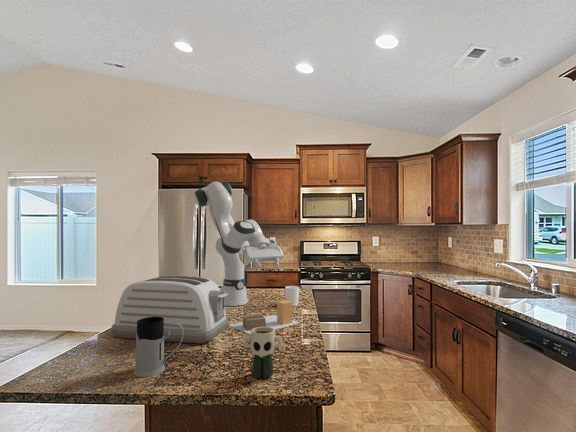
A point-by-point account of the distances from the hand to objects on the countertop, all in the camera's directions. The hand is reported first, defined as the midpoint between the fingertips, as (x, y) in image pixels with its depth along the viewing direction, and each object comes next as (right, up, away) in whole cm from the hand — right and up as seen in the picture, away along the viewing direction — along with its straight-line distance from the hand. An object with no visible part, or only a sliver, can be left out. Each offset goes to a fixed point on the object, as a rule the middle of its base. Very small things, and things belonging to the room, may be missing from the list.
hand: (269, 266), depth 155 cm
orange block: (+7, -23, -11) cm, 27 cm away
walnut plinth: (-6, -23, -17) cm, 29 cm away
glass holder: (-30, -22, -57) cm, 69 cm away
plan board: (-1, -24, -13) cm, 28 cm away
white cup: (+11, -26, +26) cm, 39 cm away
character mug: (+2, -22, -61) cm, 65 cm away
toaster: (-38, -24, -22) cm, 50 cm away
